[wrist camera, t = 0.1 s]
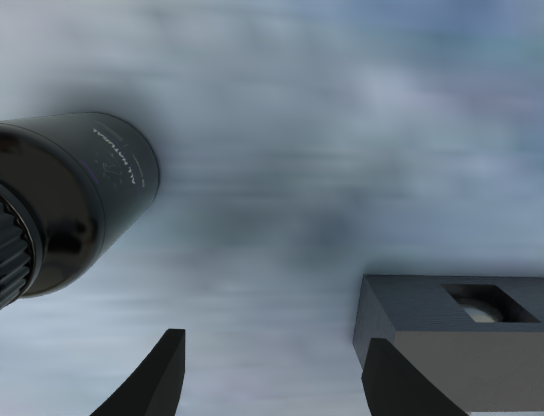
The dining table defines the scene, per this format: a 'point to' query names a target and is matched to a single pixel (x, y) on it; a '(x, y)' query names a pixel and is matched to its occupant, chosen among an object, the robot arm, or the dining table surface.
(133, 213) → the supplement bottle
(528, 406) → the hitch beam
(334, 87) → the dining table surface
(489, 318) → the lynch pin
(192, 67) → the dining table surface
